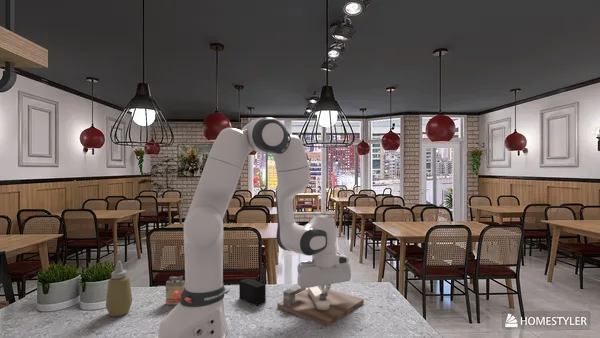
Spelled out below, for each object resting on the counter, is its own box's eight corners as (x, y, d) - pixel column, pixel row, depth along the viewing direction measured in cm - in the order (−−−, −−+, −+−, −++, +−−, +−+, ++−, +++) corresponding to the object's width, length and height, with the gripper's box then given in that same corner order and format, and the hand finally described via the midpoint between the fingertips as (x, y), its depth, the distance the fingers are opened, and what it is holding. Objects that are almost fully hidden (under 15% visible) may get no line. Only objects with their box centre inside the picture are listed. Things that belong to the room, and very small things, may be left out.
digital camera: (268, 301, 124) (268, 283, 124) (257, 306, 120) (257, 287, 120) (250, 294, 131) (250, 277, 131) (239, 298, 127) (239, 280, 127)
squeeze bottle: (123, 306, 120) (123, 257, 120) (137, 311, 116) (137, 260, 116) (100, 315, 113) (100, 262, 113) (114, 320, 109) (113, 266, 109)
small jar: (164, 305, 121) (163, 277, 121) (168, 300, 125) (168, 274, 125) (183, 305, 121) (183, 278, 121) (187, 301, 125) (186, 274, 125)
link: (331, 309, 113) (331, 302, 113) (318, 311, 112) (318, 303, 112) (317, 290, 131) (317, 284, 131) (305, 291, 130) (305, 284, 130)
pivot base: (328, 326, 105) (328, 307, 105) (277, 307, 119) (277, 290, 119) (363, 303, 123) (363, 286, 122) (316, 289, 137) (315, 274, 137)
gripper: (300, 264, 115) (301, 304, 115) (352, 257, 122) (353, 295, 122) (294, 259, 121) (295, 297, 121) (344, 253, 128) (345, 288, 128)
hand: (324, 296), depth 122 cm, fingers closed
